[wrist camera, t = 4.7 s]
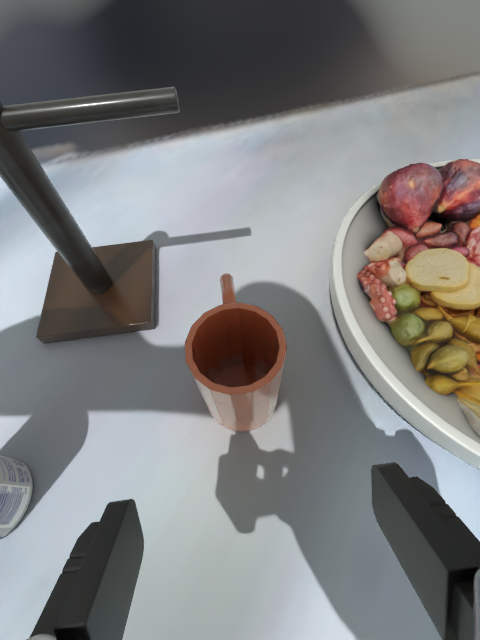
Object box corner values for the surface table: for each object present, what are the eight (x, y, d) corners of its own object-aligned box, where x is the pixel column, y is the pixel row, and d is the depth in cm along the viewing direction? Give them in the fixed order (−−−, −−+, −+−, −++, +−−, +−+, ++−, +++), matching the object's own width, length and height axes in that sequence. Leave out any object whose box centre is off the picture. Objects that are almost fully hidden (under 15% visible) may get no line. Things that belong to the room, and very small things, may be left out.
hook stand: (43, 343, 29) (-203, 149, 13) (61, 259, 34) (-102, 49, 19) (216, 320, 29) (170, 106, 14) (208, 241, 34) (167, 20, 19)
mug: (283, 426, 24) (295, 385, 16) (209, 436, 24) (187, 401, 16) (263, 321, 29) (265, 252, 21) (201, 329, 29) (181, 263, 21)
